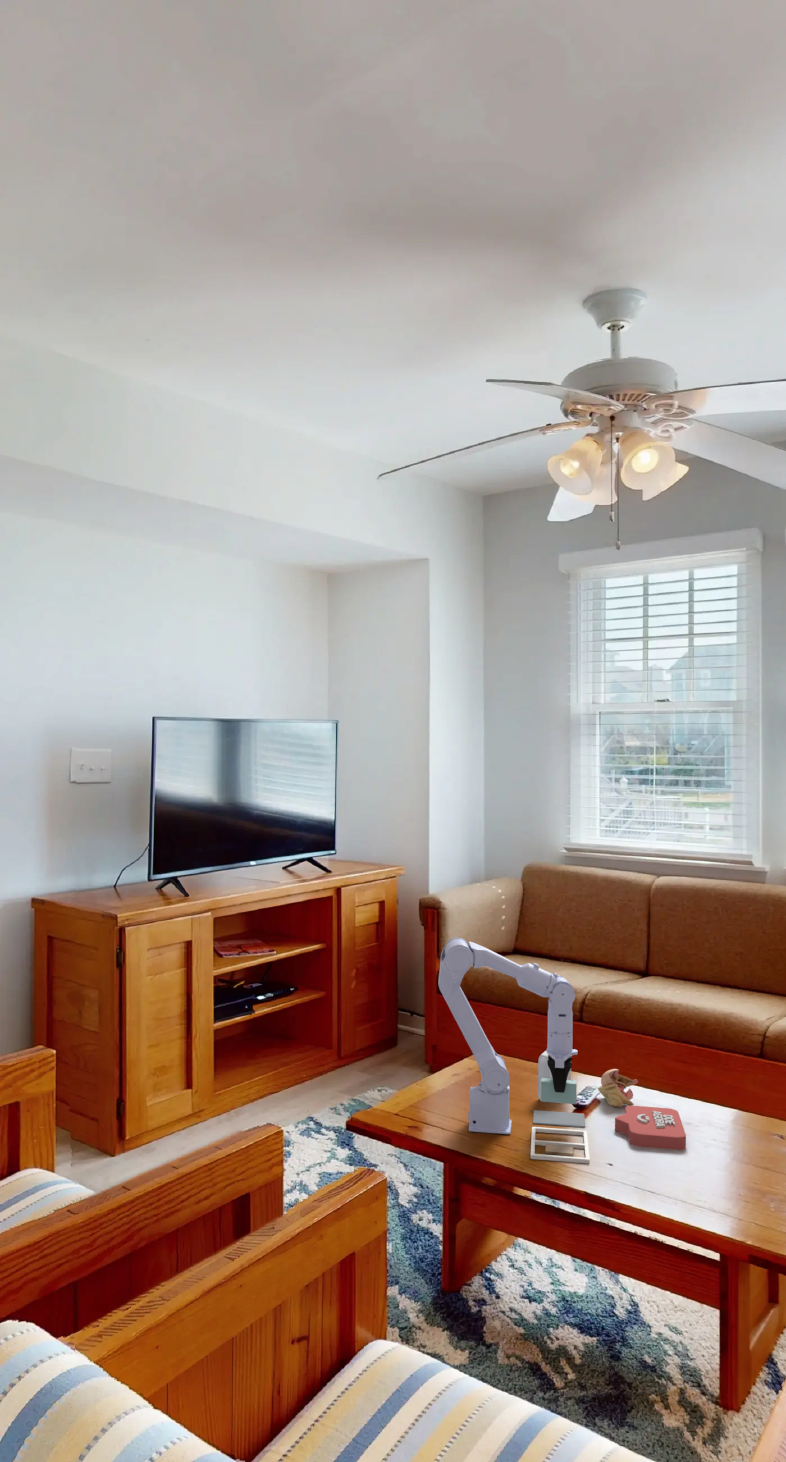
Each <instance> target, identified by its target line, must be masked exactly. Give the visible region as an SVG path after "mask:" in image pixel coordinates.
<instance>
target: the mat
mask: <svg viewBox="0 0 786 1462" xmlns="http://www.w3.org/2000/svg"><path fill="white" fill-rule="evenodd" d="M532 1124H535V1125H545V1126H557V1127H558V1126H559V1127H572V1128H573V1127H574V1128H584V1129H585V1128H586V1118H585V1113H579V1112H578V1113H577V1112H566V1111H551V1110H539V1109H538V1110H537V1109H533V1118H532Z"/></svg>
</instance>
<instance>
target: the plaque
mask: <svg viewBox="0 0 786 1462" xmlns="http://www.w3.org/2000/svg"><path fill="white" fill-rule="evenodd" d="M624 1109H625V1111H624V1114H620V1115H617V1116H615V1117H614V1130H615V1131H616V1132H619V1133H620V1134H623V1135H624V1136H627V1138H628V1142H629V1143H630V1145H632V1146H634V1147H639V1148H648V1149H649V1148H651V1149H664V1150H672V1151H673V1150H675V1151H676V1150H677V1151H681V1150H685V1149H686V1148H687V1135H686V1131H685V1129H684V1125H683V1122H682V1120H681V1117H680V1114H679V1111H678V1110H677V1109H674V1108H669V1107H656V1106H643V1105H631V1106H629V1105H626V1106H625V1108H624Z"/></svg>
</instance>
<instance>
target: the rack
mask: <svg viewBox="0 0 786 1462" xmlns="http://www.w3.org/2000/svg"><path fill="white" fill-rule="evenodd" d="M536 1133H546V1134H547V1133H548V1134H561V1135H573V1136H574V1135H575V1136H583V1142H580V1143H579V1142H568V1141H567V1142H566V1141H554V1140H553V1141H552V1140H540V1139H536ZM530 1137H531V1139H530V1140H531V1141H530V1159H531V1160H541V1161H553V1162H554V1161H555V1162H565V1163H566V1162H567V1163H577V1164H591V1163H590V1161H591V1159H590V1150H589V1149H590V1148H589V1138H588V1131H587V1130H582V1129H581V1130H579V1129H568V1128H556V1127H555V1128H553V1127H540V1126H532V1127H531V1136H530ZM546 1145H557V1146H568V1147H573V1149H581V1150H582V1149H584V1156H585V1157H581V1156H574V1157H569V1156H556V1155H546V1154H542V1153H541V1154H540V1153H536V1152H535V1151H536V1150H535V1149H536V1146H543V1147H546Z"/></svg>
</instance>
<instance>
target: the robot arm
mask: <svg viewBox="0 0 786 1462" xmlns="http://www.w3.org/2000/svg"><path fill="white" fill-rule="evenodd" d="M472 966H473V968H474V969H480V968H483V967H488V968H490V969H492V970H495V971H497V972H500V973H501V974H504V975H507V976H510V977H512V978H514V979H516V981H517V985H518V986H519V987H520V988H523V989H525V990H526V991H529V992H531V993H534V994H536V995H538V996H540V997H542V998H548V1009H547V1048H546V1050H547V1054H548V1059H549V1060H548V1061H547V1064H548V1067H549V1069H550V1071H551V1074H552V1078H553V1084H554V1090H555V1092H560V1093H564V1091H565V1087H566V1081H567V1077H568V1073H569V1071H570V1069H571V1070H572V1066H573V1062H572V1061H573V1056H577V1055H578V1050H577V1049H575V1048H574V1049H573V1038H574V1037H573V1032H574V1031H573V1028H574V1027H573V1022H574V1020H573V1016H574V1014H573V1013H574V1012H573V1003H574V1001H575V1000H576V994H575V989H574V987H573V986H572V984H571V983H570V981H569V980H568V979H566V978H565V977H563V976H562V975H559V974H558V973H556V972H553V973H551V972H549V971H547V970H544V969H543V968H541V967H540V965H539V964H538V963H536V962H533V964H531V963H528V962H527V963H525V964H521V965H520V964H518V963H516V962H515V961H513V960H511V959H509V958H507V957H504V956H503V955H501V954H498V953H497V952H494V951H493V950H491V949H490V948H488V947H485V946H483V945H480V944H478V943H475V942H473V941H467V940H465V939H464V938H461V937H453V938H451V939H449V940H447V942H445V945H444V947H443V949H442V951H441V954H440V964H439V973H438V981H437V982H438V988H439V991H440V993H441V994H442V997H443V998H444V1000H445V1002H446V1004H447V1006H448V1008H449V1010H450V1012H451V1014H452V1016H453V1018H454V1020H455V1021H456V1023H457V1025H458V1027H459V1029H460V1031H461V1033H462V1035H463V1037H464V1039H465V1041H466V1042H467V1045H468V1046H469V1048H470V1050H471V1053H472V1055H473V1056H474V1059H475V1061H476V1063H477V1065H478V1069H479V1073H480V1075H481V1080H480V1081H479V1083H478V1086H470V1088H469V1098H468V1100H469V1101H468V1104H469V1105H468V1114H467V1116H468V1117H467V1119H468V1131H469V1132H475V1133H487V1134H500V1135H501V1134H503V1135H510V1134H511V1131H512V1124H513V1123H512V1119H510V1099H511V1098H510V1096H511V1093H510V1092H511V1090H510V1085H509V1084H510V1081H511V1078H510V1073H509V1071H508V1070H507V1067H506V1066H507V1065H506V1062H505V1060H504V1058H503V1057H502V1056H501V1055H499V1054H498V1053H497V1052H496V1051H495V1049H494V1047H493V1046H492V1044H491V1042H490V1040H489V1039H488V1037H487V1035H486V1034H485V1031H484V1030H483V1027H482V1026H481V1023H480V1022H479V1020H478V1018H477V1016H476V1014H475V1012H474V1010H473V1008H472V1005H470V1002H469V1001H468V998H467V996H466V995H465V993H464V991H463V990H462V987H461V984H462V982H463V981H462V980H463V978H464V975H465V974H466V973H467V972H468V971H469V970H470V968H471V967H472Z"/></svg>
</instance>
